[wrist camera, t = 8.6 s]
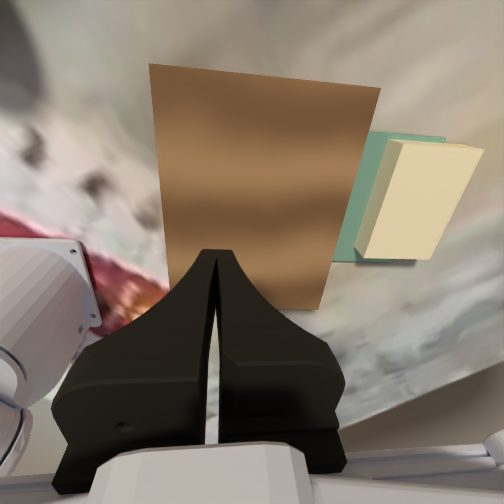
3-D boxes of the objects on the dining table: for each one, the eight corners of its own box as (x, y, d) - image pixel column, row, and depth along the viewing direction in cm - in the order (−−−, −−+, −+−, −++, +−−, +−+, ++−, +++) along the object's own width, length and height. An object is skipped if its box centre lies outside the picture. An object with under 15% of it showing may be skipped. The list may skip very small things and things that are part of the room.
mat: (391, 260, 26) (392, 262, 25) (310, 258, 25) (311, 260, 25) (443, 137, 20) (445, 138, 20) (341, 128, 19) (342, 129, 19)
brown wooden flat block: (305, 280, 26) (318, 309, 23) (178, 278, 25) (171, 309, 21) (351, 87, 18) (381, 88, 14) (164, 68, 16) (148, 63, 13)
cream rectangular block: (363, 258, 22) (353, 246, 24) (429, 259, 23) (415, 247, 25) (403, 143, 18) (387, 138, 19) (484, 149, 18) (462, 144, 20)
